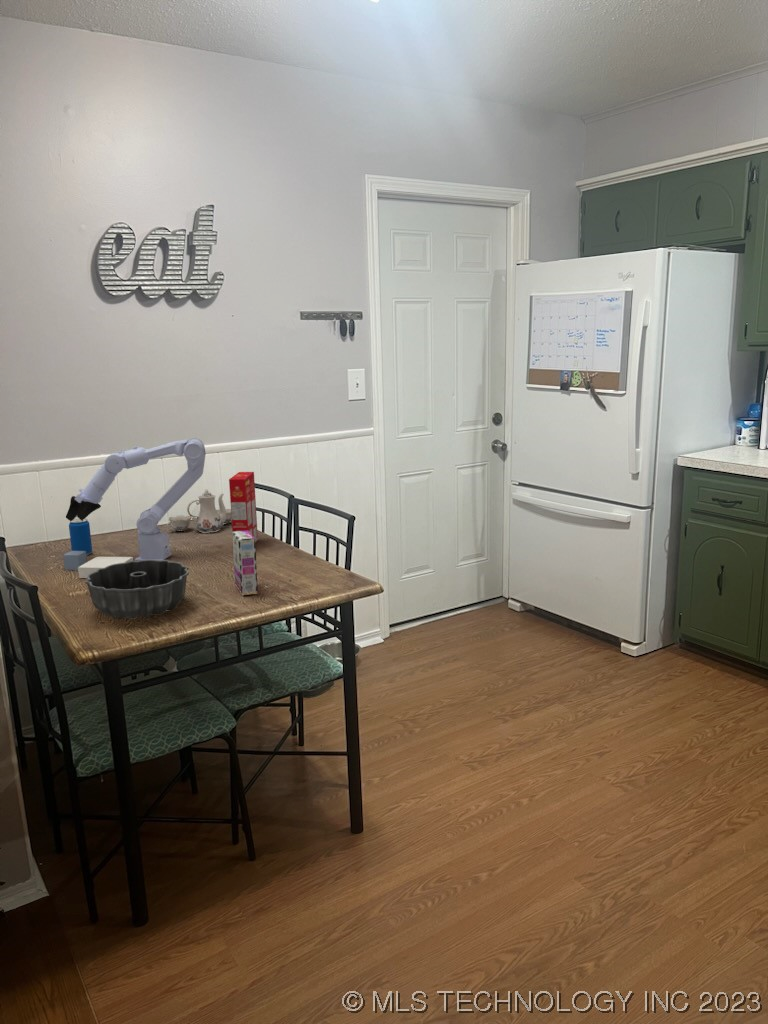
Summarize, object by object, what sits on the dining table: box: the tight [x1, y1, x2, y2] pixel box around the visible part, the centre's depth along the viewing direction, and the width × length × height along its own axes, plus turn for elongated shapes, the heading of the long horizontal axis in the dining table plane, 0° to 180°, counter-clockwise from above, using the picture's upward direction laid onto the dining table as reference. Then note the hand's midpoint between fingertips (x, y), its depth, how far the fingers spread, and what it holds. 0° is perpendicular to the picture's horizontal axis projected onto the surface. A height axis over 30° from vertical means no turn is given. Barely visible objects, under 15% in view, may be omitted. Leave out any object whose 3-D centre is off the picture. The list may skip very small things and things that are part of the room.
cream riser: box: [77, 556, 134, 578], centre depth 234 cm, size 12×12×4 cm
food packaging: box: [228, 471, 259, 540], centre depth 261 cm, size 15×5×25 cm, turn 178°
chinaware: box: [166, 489, 232, 532], centre depth 287 cm, size 28×17×17 cm, turn 130°
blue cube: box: [62, 550, 88, 571], centre depth 241 cm, size 5×5×5 cm
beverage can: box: [68, 518, 93, 556], centre depth 255 cm, size 6×6×12 cm
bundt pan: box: [84, 559, 190, 620], centre depth 202 cm, size 26×26×10 cm
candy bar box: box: [231, 530, 259, 593], centre depth 214 cm, size 11×5×16 cm, turn 21°
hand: (74, 518), depth 243 cm, fingers open, 7 cm apart
